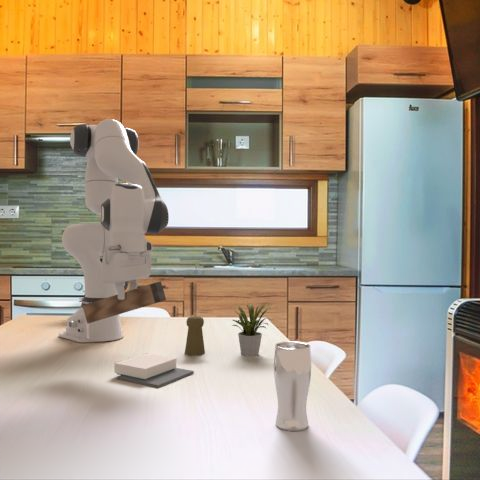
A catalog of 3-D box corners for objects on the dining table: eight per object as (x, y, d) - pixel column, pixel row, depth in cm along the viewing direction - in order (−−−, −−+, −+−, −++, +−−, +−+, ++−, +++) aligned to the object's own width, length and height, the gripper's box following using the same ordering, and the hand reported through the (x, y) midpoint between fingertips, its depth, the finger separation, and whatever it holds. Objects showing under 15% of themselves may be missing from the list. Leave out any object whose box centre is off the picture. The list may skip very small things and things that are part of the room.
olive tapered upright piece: (201, 355, 143) (202, 318, 143) (182, 354, 145) (182, 317, 144) (207, 351, 149) (207, 315, 149) (188, 350, 150) (188, 314, 150)
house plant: (283, 351, 150) (283, 298, 150) (271, 362, 137) (271, 304, 137) (239, 347, 155) (239, 295, 154) (223, 357, 142) (224, 301, 141)
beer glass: (270, 418, 95) (271, 341, 95) (306, 417, 95) (307, 341, 95) (276, 432, 88) (277, 349, 88) (314, 432, 88) (315, 349, 88)
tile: (114, 363, 121) (145, 369, 116) (146, 353, 132) (176, 358, 127) (114, 374, 121) (145, 380, 116) (146, 363, 132) (176, 369, 127)
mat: (116, 378, 120) (116, 376, 120) (154, 366, 132) (154, 363, 132) (158, 387, 113) (158, 385, 113) (193, 373, 125) (193, 370, 125)
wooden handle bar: (87, 323, 129) (82, 305, 129) (94, 321, 132) (89, 303, 132) (160, 301, 123) (154, 282, 123) (166, 300, 126) (160, 281, 127)
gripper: (117, 246, 116) (117, 304, 117) (155, 244, 136) (154, 294, 136) (94, 245, 118) (94, 302, 118) (135, 244, 138) (134, 293, 138)
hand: (126, 298), depth 127 cm, fingers closed on wooden handle bar, 3 cm apart
